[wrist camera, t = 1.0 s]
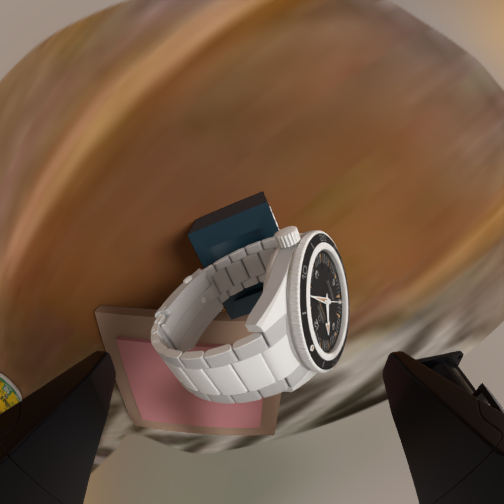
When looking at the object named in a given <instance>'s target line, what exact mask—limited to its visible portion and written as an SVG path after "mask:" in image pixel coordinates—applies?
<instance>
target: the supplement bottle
mask: <svg viewBox="0 0 504 504" xmlns="http://www.w3.org/2000/svg"><path fill="white" fill-rule="evenodd" d="M20 401H22V396H21V393H20V391H19V390H18V388H17V387H16V386H15V385H14V384H13V382H12V381H11V380H10V379H9V378H7V377H6V376H5V375H3V374H2V373H0V414H1V413H2V412H4V411H6V410H7V409H9V408H10V407H12V406H14V405H15V404H17V403H18V402H20Z"/></svg>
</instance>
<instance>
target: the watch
mask: <svg viewBox="0 0 504 504" xmlns="http://www.w3.org/2000/svg"><path fill="white" fill-rule="evenodd" d="M188 237H189V239H190V241H191V243H192V245H193V247H194V249H195V251H196V253H197V255H198V257H199V259H200V261H201V263H202V265H203V267H204V270H203V269H202V270H200V268H199V269H198V270H197V271H195V272H194V273H193V274H192V275H191V276H188V277H186V278H185V279H184V280H183V283H182V284H181V285H180V286H179V287H178V288H177V289H176V290H175V291H174V292H173V293H172V294H171V295H170V296H169V297H168V298H167V300H166V301H165V302H164V303H163V304H162V306H161V307H160V308H159V309H158V311H157V312H156V313H155V318H156V320H155V322H154V325H153V327H152V329H151V343H152V345H153V347H154V349H155V350H156V351H157V353H158V354H159V355H160V357H161V358H162V360H163V361H164V362H165V364H166V365H167V366H168V367H169V369H170V370H171V371H172V373H173V374H174V375H175V376H176V378H177V379H178V380H179V381H180V383H181V384H182V385H183V386H184V387H185V388H186V389H187V390H188V391H189V392H191V393H193V394H194V395H195V396H197V397H199V398H201V399H204V400H207V401H213V402H217V403H225V404H233V403H235V402H236V403H245V402H251V401H256V400H260V399H261V398H262V397H263V398H266V397H269V396H273V395H275V394H278V393H281V392H283V391H285V392H292V391H294V390H296V389H297V388H299V387H300V386H302V385H303V384H305V383H306V382H307V381H309V380H310V379H311V378H312V377H313V376H314V375H315V374H317V373H326V372H329V371H330V370H332V369H333V368H334V367H335V366H336V364H337V363H338V361H339V359H340V357H341V355H342V352H343V349H344V346H345V342H346V338H347V332H348V324H349V293H348V285H347V279H346V274H345V269H344V266H343V262H342V259H341V256H340V254H339V252H338V249H337V247H336V245H335V244H334V242H333V240H332V239H331V238H330V237H329V235H327V234H326V233H325V232H322V231H316V230H314V231H308V232H305V233H298V230H297V227H295V226H289V227H286V228H283V229H281V230H279V227H278V225H277V222H276V220H275V217H274V215H273V213H272V210H271V207H269V205H268V202H267V200H266V197H265V195H264V193H263V192H260V193H258V194H255V195H253V196H250V197H248V198H245V199H243V200H240V201H238V202H236V203H233V204H231V205H228V206H226V207H224V208H221V209H219V210H217V211H214V212H212V213H209V214H207V215H205V216H203V217H200V218H198V219H196V221H195V223H194V224H193V226H192V228H191V229H190V231H189V233H188ZM222 303H223V305H224V307H225V309H226V311H227V313H228V314H229V316H230V318H231V320H233V319H236V318H238V317H241V316H244V315H247V314H249V316H248V318H247V321H246V324H245V326H246V328H247V330H248V331H249V332H255V333H253V334H251V335H249V336H247V337H245V338H242V339H240V340H238V341H236V342H235V343H234V344H233V348H232V346H231V345H230V344H226V345H223V346H220V347H217V348H213V349H209V350H207V351H206V352H205V353H204V351H192V352H187V350H190V349H193V348H194V347H195V345H196V343H197V341H198V340H199V338H200V337H201V335H202V333H203V332H204V331H205V329H206V328H207V326H208V325H209V324H210V323H211V322H212V320H213V319H214V318H215V317H216V316H217V315H218V314H219V312H220V311H221V310H222V309H223V308H224V307H223V305H222ZM261 395H262V396H261Z"/></svg>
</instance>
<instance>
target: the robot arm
mask: <svg viewBox="0 0 504 504" xmlns="http://www.w3.org/2000/svg"><path fill="white" fill-rule="evenodd" d="M462 357H463V353H462V352H461V351H458V352H454V353H449V354H445V355H440V356H435V357H430V358H425V359H420V360H418V361H417V360H415V359H413V358H412V357H410V356H409V355H407V354H405V353H404V352H402V351H398V352H392V353H390V354H389V356H388V359H387V362H386V364H385V367H384V369H383V380H384V384H385V388H386V392H387V396H388V400H389V404H390V409H391V413H392V416H393V419H394V422H395V425H396V428H397V431H398V434H399V437H400V439H401V443H402V446H403V449H404V452H405V455H406V459H407V462H408V465H409V468H410V472H411V475H412V478H413V482H414V486H415V489H416V493H417V496H418V500H419V504H504V410H503V409H502V407H501V405H500V404H499V403H498V401H497V400H496V398H495V397H494V396H493V394H492V393H491V392H490V391H489V390H488V389H487V388H486V386H485V385H484V384H483V383H482V384H481V385H480V386H479V387H478V389H477V390H475V388H474V387H473V386H472V384H471V383H470V382H469V380H468V379H467V378H466V376H465V375H464V373H463V372H462V371H461V369H460V368H459V367H458V365H459V363H460V361H461V359H462ZM115 378H116V370H115V367H114V364H113V361H112V358H111V356H110V354H109V353H108V352H105V351H96V352H94V353H93V354H91V355H90V356H88V357H87V358H85V359H83V360H82V361H80V362H79V363H77V364H76V365H74V366H73V367H71V368H70V369H68V370H67V371H65V372H64V373H62V374H61V375H59V376H58V377H56V378H55V379H53V380H52V381H50V382H49V383H47V384H46V385H44V386H42V387H41V388H39V389H38V390H36V391H35V392H33V393H32V394H30V395H29V396H27V397H26V398H24V399H23V400H22V402H21V401H20V402H18V403H17V404H15V405H14V406H12V407H10V408H9V409H7V410H6V411H4V412H2V413H1V414H0V504H83V502H84V498H85V494H86V489H87V485H88V481H89V477H90V474H91V470H92V466H93V463H94V459H95V455H96V452H97V448H98V445H99V442H100V438H101V435H102V432H103V428H104V425H105V422H106V419H107V415H108V411H109V406H110V401H111V397H112V392H113V387H114V383H115ZM489 404H490V405H489Z"/></svg>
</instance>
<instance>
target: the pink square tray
mask: <svg viewBox="0 0 504 504" xmlns="http://www.w3.org/2000/svg"><path fill="white" fill-rule="evenodd" d="M157 311H158V310H156V309H141V308H128V307H117V306H106V305H99V307H98V308H97V309H96V311H95V315H96V319H97V323H98V327H99V330H100V334H101V337H102V340H103V344H104V347H105V350H106V352H108V353H109V354H110V356H111V358H112V361H113V364H114V367H115V370H116V378H115V380H116V382H117V385H118V388H119V390H120V393H121V395H122V398H123V401H124V403H125V405H126V408H127V410H128V413H129V415H130V417H131V420H132V422H133V424H134V425H135V426H141V427H147V428H154V429H161V430H169V431H178V432H188V433H200V434H217V435H274V433H275V428H276V422H277V416H278V410H279V404H280V398H281V393H278V394H275V395H273V396H269V397H266V398H263V397H262V398H261V399H260V400H256V401H251V402H245V403H236V402H235V403H233V404H225V403H217V402H213V401H207V400H204V399H201V398H199V397H197V396H195V395H194V394H193V393H191V392H189V391H188V390H187V389H186V388H185V387H184V386H183V385H182V384H181V383H180V381H179V380H178V379H177V378H176V376H175V375H174V374H173V373H172V371H171V370H170V369H169V367H168V366H167V365H166V364H165V362H164V361H163V360H162V358H161V357H160V355H159V354H158V353H157V351H156V350H155V349H154V347H153V345H152V343H151V329H152V327H153V325H154V322H155V320H156V318H155V313H156V312H157ZM248 316H249V314H247V315H244V316H241V317H238V318H236V319H233V320H231V318H230V316H229V314H228V313H220V312H219V314H218V315H217V316H216V317H215V318H214V319H213V320H212V322H211V323H210V324H209V325H208V326H207V328H206V329H205V331H204V332H203V333H202V335H201V337H200V338H199V340H198V341H197V343H196V345H195V347H194V348H193V349H190V350H187V352H192V351H204V353H205V352H206V351H207V350H209V349H213V348H217V347H220V346H223V345H226V344H230V345H231V346H232V348H233V344H234V343H235V342H236V341H238V340H240V339H242V338H245V337H247V336H249V335H251V334H253V333H255V332H249V331H248V330H247V328H246V326H245V324H246V321H247V318H248ZM261 396H262V395H261Z"/></svg>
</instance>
